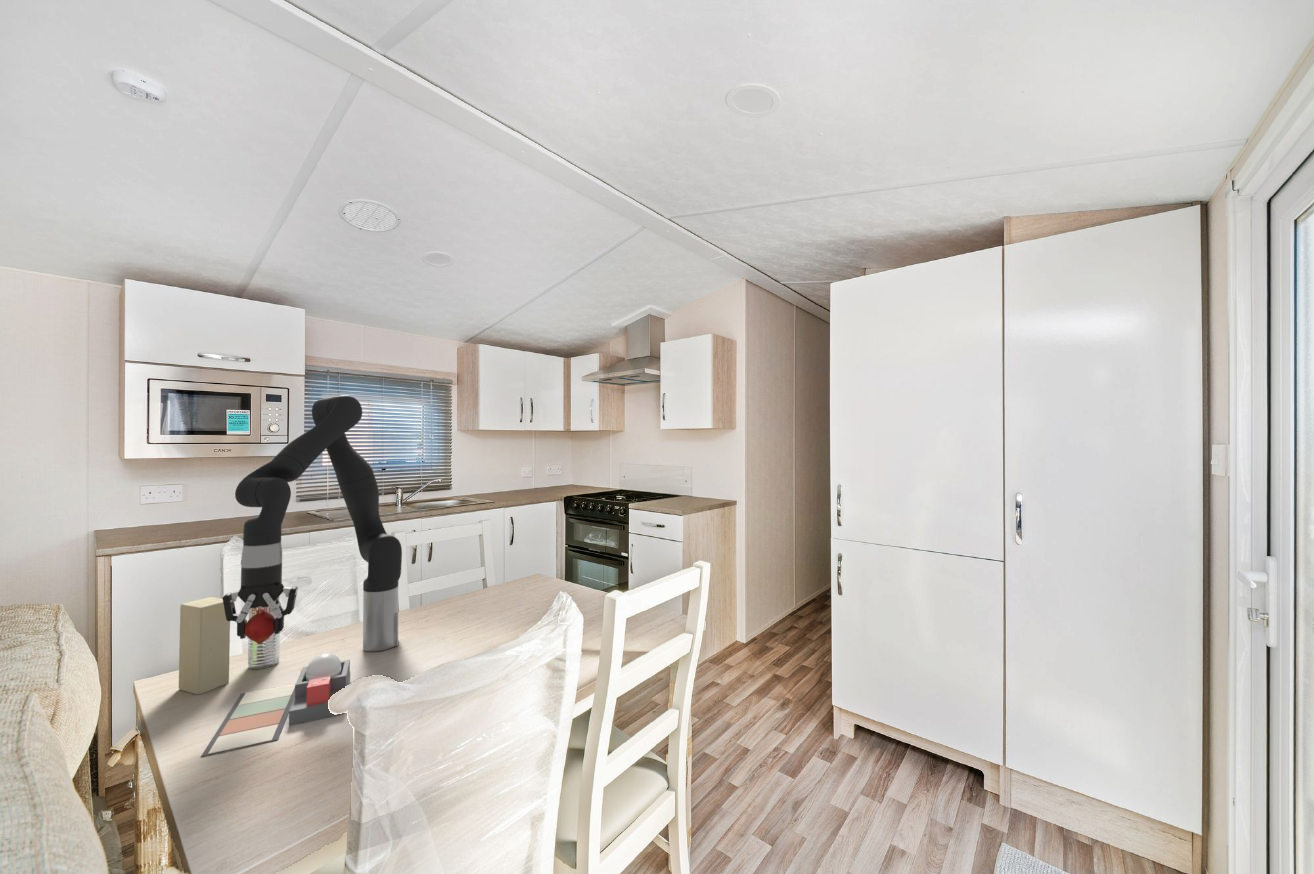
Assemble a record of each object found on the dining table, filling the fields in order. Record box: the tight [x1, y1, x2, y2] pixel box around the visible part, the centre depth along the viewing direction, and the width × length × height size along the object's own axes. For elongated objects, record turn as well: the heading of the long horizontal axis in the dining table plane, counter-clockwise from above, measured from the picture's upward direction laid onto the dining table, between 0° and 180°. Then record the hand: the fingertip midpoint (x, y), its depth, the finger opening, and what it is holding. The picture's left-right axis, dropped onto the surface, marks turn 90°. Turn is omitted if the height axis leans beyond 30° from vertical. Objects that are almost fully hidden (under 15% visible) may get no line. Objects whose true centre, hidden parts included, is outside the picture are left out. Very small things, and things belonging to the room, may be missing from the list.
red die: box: [307, 676, 331, 706], centre depth 113 cm, size 4×4×4 cm
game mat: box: [200, 683, 296, 758], centre depth 112 cm, size 12×27×1 cm, turn 27°
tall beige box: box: [178, 596, 231, 695], centre depth 125 cm, size 8×7×21 cm
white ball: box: [306, 652, 342, 681], centre depth 120 cm, size 7×7×7 cm
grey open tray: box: [288, 659, 351, 726], centre depth 117 cm, size 10×16×6 cm, turn 27°
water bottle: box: [247, 596, 281, 671], centre depth 137 cm, size 7×7×25 cm
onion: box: [245, 609, 275, 644], centre depth 117 cm, size 6×6×8 cm
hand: (260, 634), depth 117 cm, fingers closed on onion, 5 cm apart
